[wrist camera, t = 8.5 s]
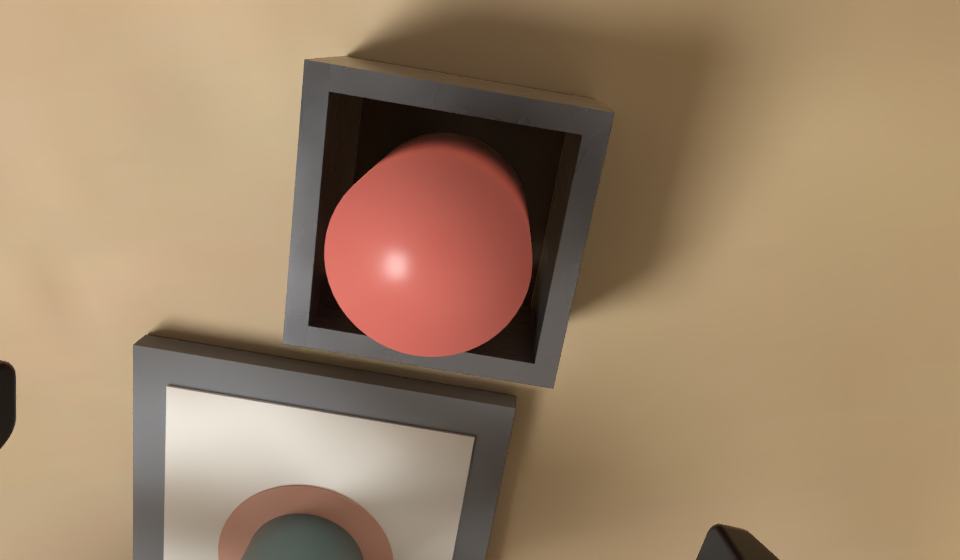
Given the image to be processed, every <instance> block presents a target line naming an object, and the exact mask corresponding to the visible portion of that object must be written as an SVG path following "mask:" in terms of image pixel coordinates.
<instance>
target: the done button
mask: <svg viewBox="0 0 960 560" xmlns="http://www.w3.org/2000/svg"><path fill="white" fill-rule="evenodd" d="M324 260H325V269H326V274H327V278H328V282H329V285H330V287H331V290H332V292H333V295H334V297H335V299H336V300H337V302H338V304H339V306H340V307H341V309H342V310H343V312H344V313H345V314H346V316H347V317H348V318H349V319H350V320H351V321H352V323H353V324H354V325H355V326H356V327H357V328H359V329H360V330H361V331H362V332H363V333H364V334H366V335H367V336H368V337H370V338H372V339H373V340H375V341H376V342H378V343H380V344H382V345H384V346H386V347H388V348H390V349H393V350H396V351H399V352H401V353H406V354H410V355H415V356H424V357H441V356H449V355H455V354H458V353H462V352H466V351H468V350H471V349H473V348H476V347H478V346H480V345H482V344H483V343H485V342H487V341H489V340H490V339H491V338H493V337H494V336H496V335H497V334H498V333H499V332H500V331H501V330H502V329H504V328H505V327H506V326H507V325H508V324H509V322H510V321H511V320H512V319H513V317H514V316H515V315H516V313H517V311H518V310H519V308H520V306H521V305H522V303H523V301H524V298H525V296H526V294H527V291H528V287H529V284H530V280H531V273H532V246H531V236H530V226H529V216H528V207H527V201H526V196H525V193H524V189H523V187H522V184H521V182H520V180H519V178H518V176H517V175H516V173H515V171H514V170H513V168H512V167H511V166H510V165H509V163H508V162H507V161H506V160H505V159H504V158H503V157H502V156H501V155H500V154H499V153H498V152H497V151H495V150H494V149H492V148H491V147H490V146H488V145H486V144H484V143H483V142H481V141H479V140H476V139H474V138H471V137H468V136H464V135H460V134H454V133H432V134H426V135H422V136H418V137H415V138H412V139H410V140H408V141H406V142H404V143H402V144H400V145H399V146H397V147H396V148H394V149H393V150H392V151H391V152H390V153H388V154H387V155H386V156H385V157H384V158H383V159H382V160H380V161H379V162H378V163H377V164H376V165H375V166H374V167H373V168H372V169H371V170H369V171H368V172H367V173H366V174H365V175H364V176H363V177H362V178H361V179H359V180H358V181H357V182H356V183H355V184H354V185H353V186H352V187H351V188H350V189H349V190H348V191H347V193H346V194H345V195H344V196H343V197H342V199H341V201H340V202H339V204H338V205H337V207H336V209H335V211H334V213H333V215H332V217H331V219H330V222H329V226H328V229H327V232H326V239H325V246H324Z"/></svg>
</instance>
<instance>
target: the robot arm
mask: <svg viewBox="0 0 960 560" xmlns="http://www.w3.org/2000/svg"><path fill="white" fill-rule="evenodd" d="M15 422H16V374H15V370H14V367H13V366H12V365H11V364H10V363H9V362H6V361H1V360H0V449H1V447H2V446H3V445H4V444H5V443H6V441H7V440H8V438H9V437H10V435H11V433H12V431H13V429H14V426H15ZM696 560H779V559H778V558H777V557H776V556H775V555H774V554H773V553H772V552H770V551H769V550H768V549H767V548H766V547H765V546H764V545H763V544H762V543H760V542H759V541H758V540H757V539H756V538H755V537H754V536H753V535H752V534H751V533H749V532H748V531H746V530H744V529H741V528H736V527H732V526H727V525H723V524H716V525H714V526H712V527H711V528H710V530H709V531H708V533H707V535H706V538H705V540H704V542H703V545H702V547H701V549H700V552H699V554H698V557H697V559H696Z"/></svg>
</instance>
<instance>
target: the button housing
mask: <svg viewBox="0 0 960 560" xmlns="http://www.w3.org/2000/svg"><path fill="white" fill-rule="evenodd" d="M363 97H364V98H370V99H376V100H382V101H387V102H393V103H399V104H405V105H411V106H417V107H422V108H428V109H434V110H440V111H446V112H452V113H457V114H463V115H469V116H475V117H481V118H487V119H492V120H498V121H504V122H510V123H516V124H522V125H527V126H533V127H539V128H545V129H551V130H557V131H562V132H565V137H564V142H563V147H562V152H561V157H560V162H559V167H558V172H557V177H556V182H555V187H554V192H553V197H552V202H551V207H550V212H549V217H548V222H547V227H546V232H545V237H544V242H543V247H542V252H541V257H540V262H539V267H538V272H537V277H536V282H535V287H534V292H533V297H532V302H531V307H527V306H520V308H519V310H518V311H517V313H516V315H515V316H514V317H513V319H512V320H511V321H510V322H509V324H508V325H507V326H506V327H505V328H504V329H502V330H501V331H500V332H499V333H498V334H497V335H496V336H494V337H493V338H491V339H490V340H489V341H487V342H485V343H483V344H482V345H480V346H478V347H476V348H473V349H471V350H468V351H466V352H462V353H458V354H455V355H449V356H441V357H424V356H415V355H410V354H406V353H401V352H399V351H396V350H393V349H390V348H388V347H386V346H384V345H382V344H380V343H378V342H376V341H375V340H373V339H372V338H370V337H368V336H367V335H366V334H364V333H363V332H362V331H361V330H360V329H359V328H357V327H356V326H355V325H354V324H353V323H352V321H351V320H350V319H349V318H348V317H347V316H346V314H345V313H344V312H343V310H342V309H341V307H340V306H339V304H338V302H337V300H336V299H335V297H334V295H333V292H332V290H331V287H330V285H329V282H328V278H327V274H326V269H325V260H324V246H325V239H326V232H327V229H328V226H329V222H330V219H331V217H332V215H333V213H334V211H335V209H336V207H337V205H338V204H339V202H340V201H341V199H342V197H343V196H344V195H345V194H346V193H347V191H348V190H349V189H350V188H351V187H352V186H353V185H354V175H355V166H356V156H357V147H358V137H359V127H360V118H361V108H362V99H363ZM613 117H614V112H613V111H611V110H610V109H608V108H607V107H605V106H604V105H602V104H601V103H600V102H598V101H597V100H595V99H592V98H586V97H580V96H574V95H569V94H563V93H557V92H551V91H545V90H540V89H534V88H528V87H522V86H516V85H511V84H505V83H499V82H493V81H487V80H481V79H476V78H470V77H464V76H458V75H452V74H447V73H441V72H435V71H429V70H423V69H418V68H412V67H406V66H400V65H394V64H389V63H383V62H377V61H371V60H365V59H359V58H354V57H348V56H339V57H327V58H315V59H305V60H304V74H303V87H302V100H301V113H300V126H299V139H298V152H297V165H296V178H295V191H294V204H293V217H292V230H291V243H290V256H289V269H288V282H287V295H286V309H285V322H284V335H283V344H288V345H294V346H300V347H306V348H312V349H318V350H324V351H330V352H336V353H342V354H348V355H354V356H360V357H366V358H372V359H378V360H384V361H390V362H396V363H402V364H408V365H414V366H420V367H426V368H432V369H438V370H444V371H450V372H456V373H462V374H468V375H474V376H480V377H486V378H492V379H498V380H504V381H510V382H516V383H522V384H528V385H534V386H540V387H546V388H552V389H553V388H554V383H555V378H556V374H557V369H558V365H559V360H560V356H561V351H562V347H563V342H564V338H565V333H566V329H567V324H568V320H569V315H570V311H571V306H572V302H573V297H574V293H575V288H576V284H577V279H578V275H579V270H580V266H581V261H582V257H583V252H584V248H585V243H586V239H587V234H588V230H589V225H590V221H591V216H592V212H593V207H594V203H595V198H596V194H597V189H598V184H599V180H600V175H601V171H602V166H603V162H604V157H605V153H606V148H607V144H608V139H609V135H610V130H611V126H612V121H613Z"/></svg>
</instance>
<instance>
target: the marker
mask: <svg viewBox="0 0 960 560" xmlns="http://www.w3.org/2000/svg"><path fill="white" fill-rule="evenodd" d="M241 560H364V559H363V555H362V552H361V550H360V548H359V546H358V544H357V543H356V541H355V540H354V539H353V537H352V536H351V535H350V534H349V533H348V532H347V531H346V530H345V529H343V528H342V527H341V526H339V525H338V524H336V523H334V522H332V521H330V520H328V519H326V518H323V517H320V516H316V515H311V514H287V515H283V516H279V517H277V518H274V519H272V520H270V521H268V522H267V523H265V524H264V525H262V526H261V527H260V528H259V529H258V530H257V531H256V533H255V534H254V535H253V537H252V539H251V541H250V543H249V545H248V547H247V549H246V551H245V553H244V555H243V557H242V558H241Z"/></svg>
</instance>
